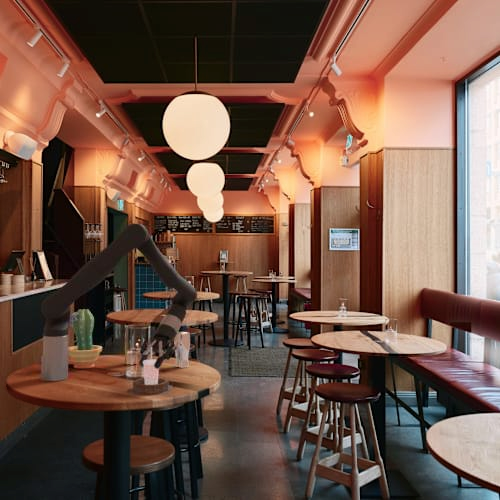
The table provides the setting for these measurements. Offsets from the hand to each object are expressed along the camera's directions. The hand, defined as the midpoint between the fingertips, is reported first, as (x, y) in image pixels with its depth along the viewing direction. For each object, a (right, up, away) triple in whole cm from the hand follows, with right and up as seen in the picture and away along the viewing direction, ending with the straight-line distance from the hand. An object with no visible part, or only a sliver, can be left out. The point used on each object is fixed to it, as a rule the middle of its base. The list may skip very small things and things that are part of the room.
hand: (148, 366), depth 189 cm
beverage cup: (+1, -8, +2) cm, 8 cm away
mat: (+1, -9, +1) cm, 9 cm away
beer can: (-17, -10, +47) cm, 51 cm away
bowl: (+1, -9, +1) cm, 9 cm away
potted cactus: (-37, -10, +42) cm, 57 cm away
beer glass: (+7, -10, +43) cm, 44 cm away
